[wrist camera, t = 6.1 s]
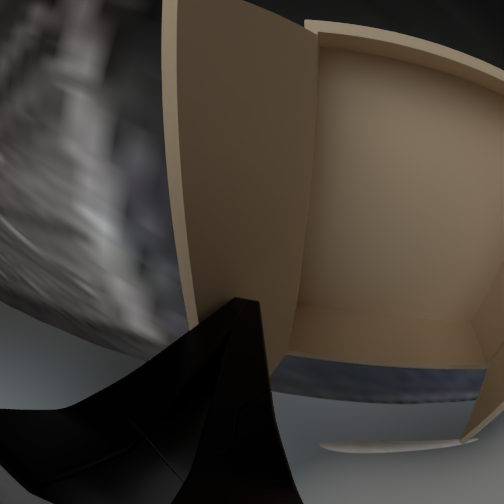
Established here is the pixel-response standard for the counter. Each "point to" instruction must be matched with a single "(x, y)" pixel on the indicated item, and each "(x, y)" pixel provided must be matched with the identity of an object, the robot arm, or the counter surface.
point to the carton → (402, 205)
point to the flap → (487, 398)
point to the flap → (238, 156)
